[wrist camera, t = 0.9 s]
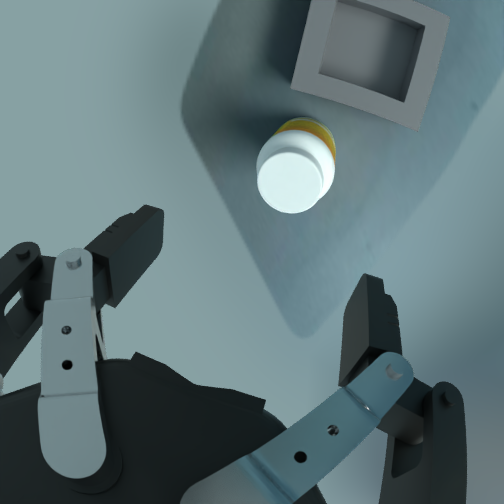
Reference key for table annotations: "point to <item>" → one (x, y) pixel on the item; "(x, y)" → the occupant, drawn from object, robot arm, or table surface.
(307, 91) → the socket mount
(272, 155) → the supplement bottle
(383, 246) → the table surface
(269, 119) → the table surface
